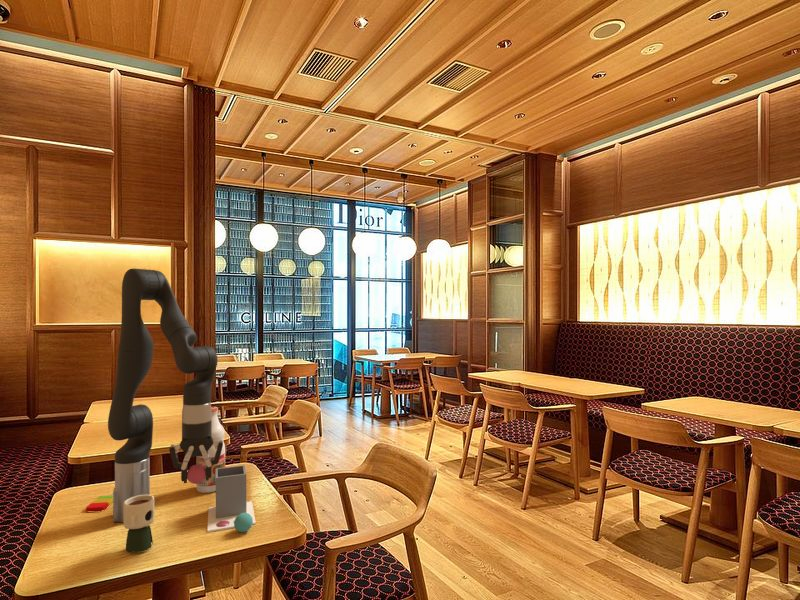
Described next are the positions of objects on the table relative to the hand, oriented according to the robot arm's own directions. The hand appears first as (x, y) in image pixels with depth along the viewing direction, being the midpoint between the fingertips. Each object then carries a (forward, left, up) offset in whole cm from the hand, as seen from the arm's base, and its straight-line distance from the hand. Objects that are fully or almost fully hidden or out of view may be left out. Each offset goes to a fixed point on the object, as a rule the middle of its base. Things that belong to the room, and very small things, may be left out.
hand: (196, 480), depth 129 cm
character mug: (-14, -1, -16) cm, 21 cm away
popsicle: (-29, +37, -16) cm, 50 cm away
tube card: (+9, +10, -16) cm, 21 cm away
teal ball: (+12, -1, -13) cm, 18 cm away
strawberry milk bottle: (+3, +36, -16) cm, 39 cm away
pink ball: (0, 0, +2) cm, 2 cm away
